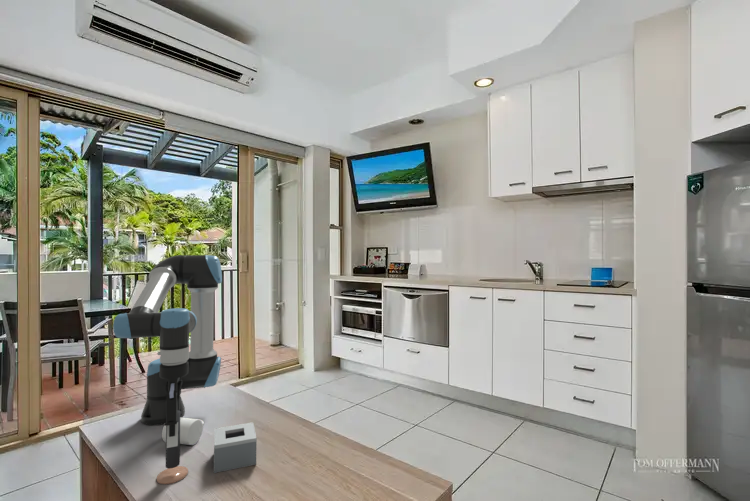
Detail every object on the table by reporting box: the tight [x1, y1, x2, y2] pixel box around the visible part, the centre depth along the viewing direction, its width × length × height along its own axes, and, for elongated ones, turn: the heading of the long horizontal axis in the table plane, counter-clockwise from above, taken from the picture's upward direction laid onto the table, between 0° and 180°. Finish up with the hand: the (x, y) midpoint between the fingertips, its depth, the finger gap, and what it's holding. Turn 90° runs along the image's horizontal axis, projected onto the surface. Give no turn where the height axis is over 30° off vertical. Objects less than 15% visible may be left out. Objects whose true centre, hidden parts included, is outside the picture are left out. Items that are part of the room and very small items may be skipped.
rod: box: [165, 410, 181, 469], centre depth 108 cm, size 4×4×15 cm
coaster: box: [156, 465, 189, 485], centre depth 108 cm, size 8×8×1 cm
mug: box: [161, 417, 205, 446], centre depth 130 cm, size 12×10×8 cm
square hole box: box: [213, 421, 258, 474], centre depth 117 cm, size 12×12×8 cm
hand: (173, 443), depth 108 cm, fingers closed on rod, 3 cm apart
